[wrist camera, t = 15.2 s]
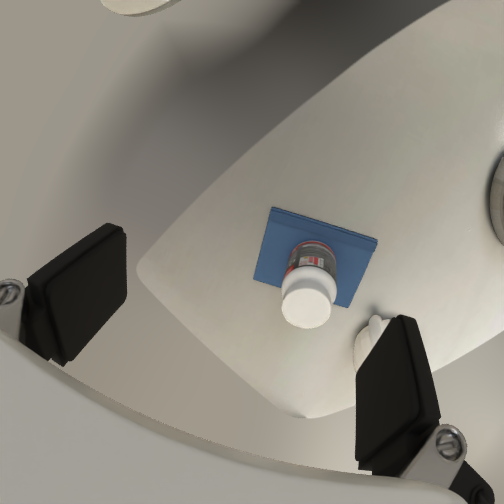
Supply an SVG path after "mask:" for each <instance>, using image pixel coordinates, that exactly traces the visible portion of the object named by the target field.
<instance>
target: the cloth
mask: <svg viewBox="0 0 504 504" xmlns="http://www.w3.org/2000/svg"><path fill="white" fill-rule="evenodd" d="M306 241H319V242H322V243H324V244H326V245H327V246H328V247H329V248H331V250H332V251H333V253H334V255H335V258H336V271H337V294H336V299H335V301H334V303H333V304H335V305H339V306H342V307H345V308H348V307H349V305H350V303H351V301H352V298H353V296H354V294H355V292H356V290H357V288H358V286H359V283H360V281H361V279H362V277H363V275H364V272H365V270H366V268H367V266H368V263H369V261H370V259H371V256H372V254H373V252H374V251H375V249H376V246H377V242H378V241H377V240H376V239H373V238H370V237H367V236H364V235H361V234H358V233H355V232H352V231H349V230H346V229H343V228H340V227H337V226H333V225H330V224H327V223H324V222H321V221H318V220H314V219H311V218H308V217H305V216H301V215H298V214H295V213H291V212H288V211H285V210H281V209H278V208H275V207H272V208H271V211H270V215H269V220H268V224H267V228H266V231H265V235H264V239H263V243H262V247H261V251H260V255H259V259H258V262H257V266H256V270H255V274H254V278H253V279H254V280H257V281H260V282H263V283H266V284H270V285H273V286H276V287H279V288H281V286H282V282H283V279H284V275H285V272H286V268H287V264H288V261H289V257H290V254H291V252H292V251H293V249H294V248H295V247H296V246H297V245H299V244H301V243H303V242H306Z"/></svg>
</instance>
